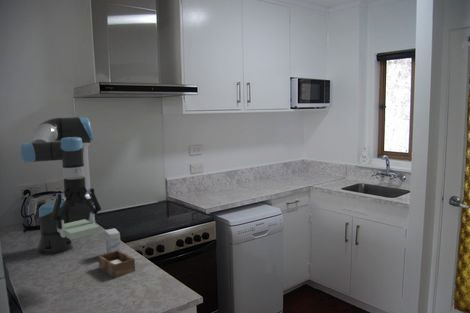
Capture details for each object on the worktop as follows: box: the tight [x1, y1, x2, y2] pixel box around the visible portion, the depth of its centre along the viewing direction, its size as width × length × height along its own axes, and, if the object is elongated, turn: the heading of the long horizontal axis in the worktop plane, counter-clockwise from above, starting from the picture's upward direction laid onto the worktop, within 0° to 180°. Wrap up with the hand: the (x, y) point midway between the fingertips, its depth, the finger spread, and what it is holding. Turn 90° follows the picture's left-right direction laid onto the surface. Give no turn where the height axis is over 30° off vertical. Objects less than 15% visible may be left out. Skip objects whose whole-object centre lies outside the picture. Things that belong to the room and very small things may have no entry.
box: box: [98, 250, 136, 279], centre depth 151 cm, size 14×9×6 cm, turn 45°
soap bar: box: [110, 259, 122, 264], centre depth 151 cm, size 6×4×3 cm, turn 45°
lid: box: [57, 219, 101, 241], centre depth 140 cm, size 14×11×3 cm
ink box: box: [104, 227, 123, 254], centre depth 167 cm, size 9×5×12 cm, turn 33°
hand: (78, 232), depth 140 cm, fingers closed on lid, 11 cm apart
